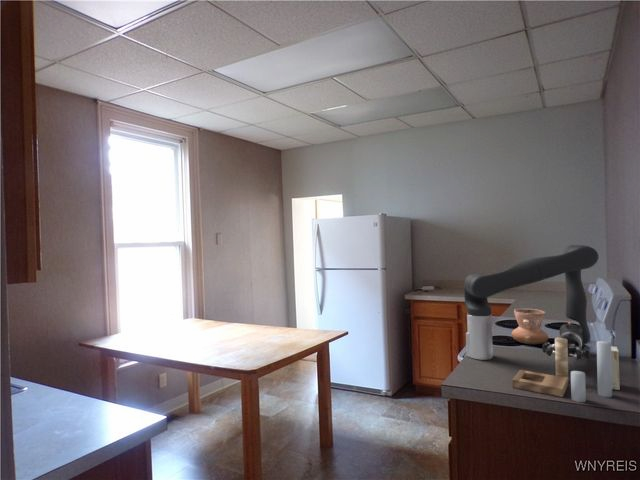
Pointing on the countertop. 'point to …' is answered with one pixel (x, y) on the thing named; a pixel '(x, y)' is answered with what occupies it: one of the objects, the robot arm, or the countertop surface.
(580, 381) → the short grey dowel
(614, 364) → the skincare box
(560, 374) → the beech dowel
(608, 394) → the tall grey dowel
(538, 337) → the ceramic jug
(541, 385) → the wooden board with hole
